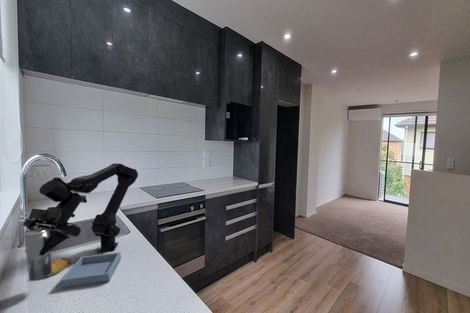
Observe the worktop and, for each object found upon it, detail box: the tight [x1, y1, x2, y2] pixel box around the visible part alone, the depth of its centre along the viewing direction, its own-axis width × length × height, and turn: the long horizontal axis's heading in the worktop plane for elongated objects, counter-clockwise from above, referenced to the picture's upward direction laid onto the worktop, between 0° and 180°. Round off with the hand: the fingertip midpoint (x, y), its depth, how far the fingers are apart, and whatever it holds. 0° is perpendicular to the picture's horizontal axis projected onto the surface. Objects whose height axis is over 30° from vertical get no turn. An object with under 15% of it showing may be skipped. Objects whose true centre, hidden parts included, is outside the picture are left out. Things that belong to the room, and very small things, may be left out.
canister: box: [24, 227, 52, 281], centre depth 68 cm, size 6×6×15 cm
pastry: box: [46, 257, 71, 277], centre depth 80 cm, size 9×7×4 cm
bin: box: [60, 252, 122, 289], centre depth 78 cm, size 14×14×3 cm
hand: (33, 253), depth 67 cm, fingers closed on canister, 6 cm apart
